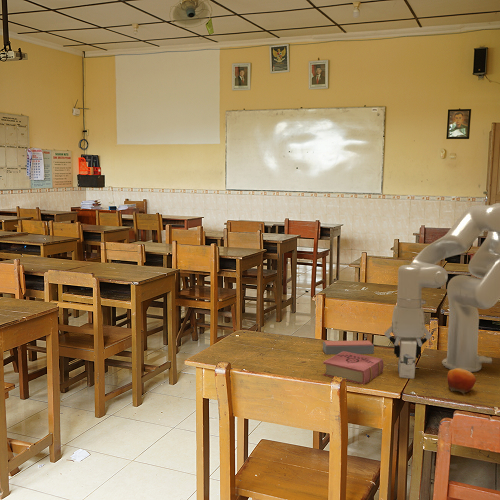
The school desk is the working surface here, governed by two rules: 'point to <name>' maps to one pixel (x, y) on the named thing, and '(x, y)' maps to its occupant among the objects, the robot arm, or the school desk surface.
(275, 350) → the school desk surface
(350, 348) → the pencil case
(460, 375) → the fruit
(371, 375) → the book
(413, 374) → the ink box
